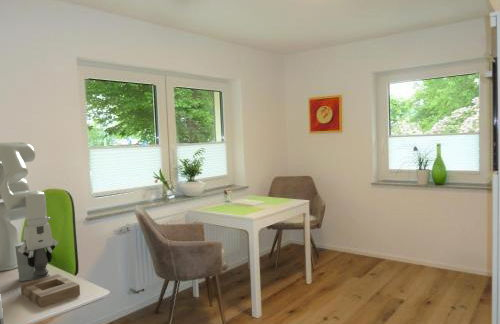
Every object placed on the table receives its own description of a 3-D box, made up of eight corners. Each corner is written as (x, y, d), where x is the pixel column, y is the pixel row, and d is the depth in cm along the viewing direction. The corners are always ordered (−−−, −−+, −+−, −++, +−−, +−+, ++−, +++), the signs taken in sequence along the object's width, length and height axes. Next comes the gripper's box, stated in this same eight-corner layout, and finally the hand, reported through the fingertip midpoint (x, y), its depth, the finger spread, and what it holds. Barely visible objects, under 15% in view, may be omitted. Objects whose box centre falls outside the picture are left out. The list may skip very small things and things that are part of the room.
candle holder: (42, 286, 158) (38, 227, 156) (29, 286, 159) (25, 226, 158) (53, 281, 164) (49, 223, 162) (40, 280, 166) (36, 223, 164)
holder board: (21, 294, 151) (20, 284, 151) (58, 283, 162) (57, 273, 161) (41, 307, 138) (40, 296, 138) (80, 294, 149) (79, 284, 148)
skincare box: (35, 280, 167) (32, 244, 165) (17, 282, 165) (14, 245, 164) (41, 273, 175) (38, 239, 174) (23, 275, 173) (21, 240, 172)
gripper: (54, 216, 169) (57, 256, 170) (10, 224, 156) (14, 267, 157) (62, 218, 164) (65, 260, 165) (17, 227, 151) (20, 271, 152)
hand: (40, 263), depth 161 cm, fingers closed on candle holder, 6 cm apart
